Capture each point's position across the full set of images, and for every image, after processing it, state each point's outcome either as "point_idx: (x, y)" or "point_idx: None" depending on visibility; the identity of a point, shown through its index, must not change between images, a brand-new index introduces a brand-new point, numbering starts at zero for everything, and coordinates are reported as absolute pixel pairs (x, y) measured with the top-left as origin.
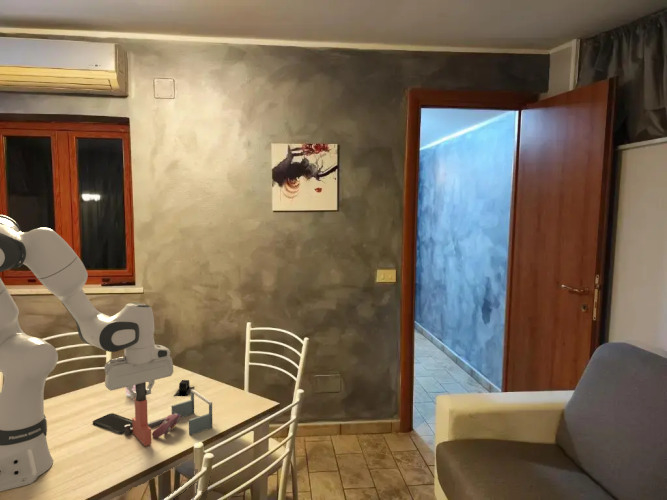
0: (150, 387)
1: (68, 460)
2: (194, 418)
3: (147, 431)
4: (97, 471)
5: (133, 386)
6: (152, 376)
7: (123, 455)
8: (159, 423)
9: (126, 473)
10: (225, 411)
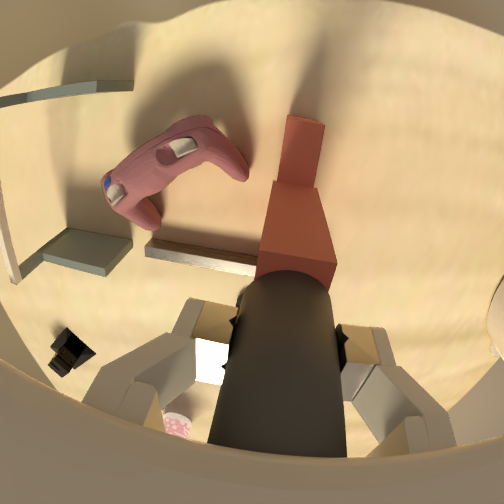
0: (171, 349)
1: (488, 256)
2: (75, 89)
3: (308, 121)
4: (490, 126)
5: (172, 433)
6: (73, 475)
7: (401, 138)
8: (179, 246)
9: (444, 31)
10: (7, 170)
